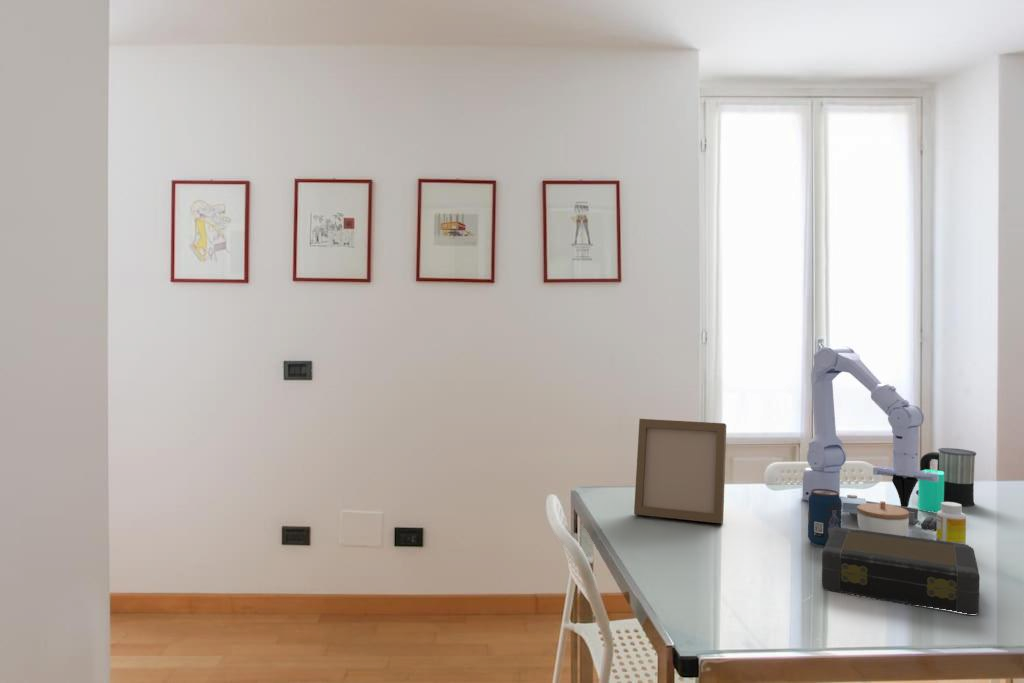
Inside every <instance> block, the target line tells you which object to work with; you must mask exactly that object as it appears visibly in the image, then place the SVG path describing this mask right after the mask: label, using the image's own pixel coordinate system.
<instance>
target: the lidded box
mask: <svg viewBox="0 0 1024 683" xmlns="http://www.w3.org/2000/svg"><path fill="white" fill-rule="evenodd" d="M840 499H841V501H842V510H841V512H842V513H843V514H849V513H853V514H857V506H858V505H860V504H866V503H867V502H866V501H867V499H866V498H863V497H858V496H857V495H855V494H846V496H841V495H840Z"/></svg>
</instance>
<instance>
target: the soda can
mask: <svg viewBox="0 0 1024 683" xmlns="http://www.w3.org/2000/svg"><path fill="white" fill-rule="evenodd" d="M811 492H812V493H811V494H810V496H809V499H808V502H807V504H808V509H807V510H808V511H807V516H808V518H807V538H808V540H809V541H810V543H811V545H813V546H815V547H820V548H824V547H825V545H826V543H827V540H828V538H829V536H830V534H831V532H832V530H833V529H835V528H838V527H839V528H842V501H841V499H840V497H839V493H838V492H837V491H833V490H828V489H813V490H812V491H811Z"/></svg>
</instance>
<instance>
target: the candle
mask: <svg viewBox="0 0 1024 683" xmlns="http://www.w3.org/2000/svg"><path fill="white" fill-rule="evenodd" d="M923 471H925V472H931V473H938V482H932V481H927V480H919V479H918V488H917V490H918V495H917V498H918V499H917V501H918V502H917V504H918V506H917V508H919V509H921V510H920V511H922V510H925V511H933V512H938V511H940V510H941V503H942V502H944V472H943V471H937V469H933V466H932V465H930V470H923ZM919 509H918V510H919ZM925 511H924V512H925Z"/></svg>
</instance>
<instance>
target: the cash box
mask: <svg viewBox="0 0 1024 683" xmlns="http://www.w3.org/2000/svg"><path fill="white" fill-rule="evenodd" d="M821 554H822V555H821V587H822V588H823V589H824V590H826V589H827V591H829V590H830V591H829V592H834V591H835V592H836V593H840V592H841V593H840V594H845V593H847V595H851V594H854V595H853V596H856V595H859V596H858V597H862V596H865V597H864V598H868V597H870V598H869V599H873V598H875V599H874V600H879V599H880V601H885V600H886V601H885V602H890V601H892V603H896V602H898V604H902V603H904V604H903V605H907V604H911V605H910V606H913V605H919V606H926V607H933V608H939V609H946V610H952V611H957V612H962V613H967V614H976V613H978V614H979V612H980V580H981V579H980V572H979V568H978V562H977V558H976V555H975V549H974V548H973V547H972V546H969V545H968V544H967V543H966V544H960V543H952V542H945V541H938V540H935V539H931V538H923V537H922V538H921V537H915V536H914V537H913V536H907V535H905V536H900V535H893V534H885V533H878V532H871V531H863V530H860V529H854V528H846V527H841V528H839V527H838V528H835V529H833V530H832V532H831V534H830V536H829V538H828V540H827V543H826V545H825V547H823V549H822V552H821ZM919 606H918V607H919Z"/></svg>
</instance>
